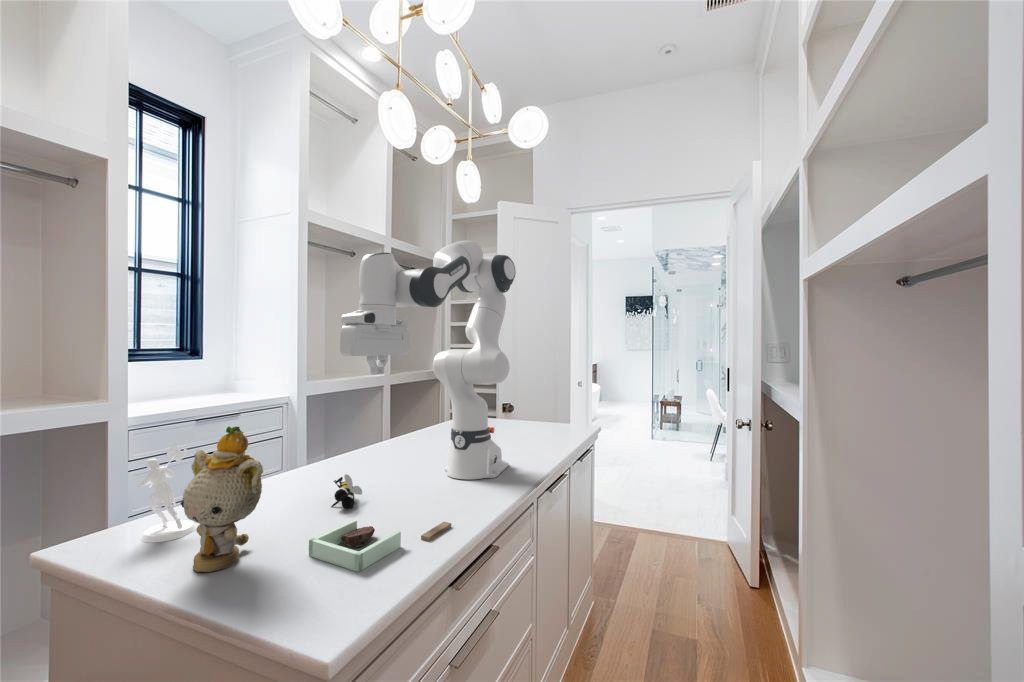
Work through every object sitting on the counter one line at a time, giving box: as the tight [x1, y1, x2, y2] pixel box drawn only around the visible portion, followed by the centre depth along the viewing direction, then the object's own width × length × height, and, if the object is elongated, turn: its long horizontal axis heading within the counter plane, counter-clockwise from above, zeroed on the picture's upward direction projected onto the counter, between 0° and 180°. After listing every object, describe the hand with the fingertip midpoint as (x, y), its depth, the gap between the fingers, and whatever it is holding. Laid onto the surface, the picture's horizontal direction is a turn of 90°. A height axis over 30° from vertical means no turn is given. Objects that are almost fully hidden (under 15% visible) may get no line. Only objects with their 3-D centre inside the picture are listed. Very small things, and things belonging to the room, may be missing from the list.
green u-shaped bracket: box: [308, 519, 402, 573], centre depth 86 cm, size 11×13×3 cm
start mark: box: [420, 521, 452, 542], centre depth 94 cm, size 8×2×1 cm, turn 153°
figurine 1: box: [137, 443, 197, 544], centre depth 94 cm, size 10×10×18 cm
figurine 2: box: [180, 426, 264, 573], centre depth 81 cm, size 11×18×25 cm, turn 61°
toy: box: [330, 473, 363, 510], centre depth 112 cm, size 7×8×15 cm
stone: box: [341, 525, 376, 549], centre depth 90 cm, size 7×7×3 cm
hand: (377, 374), depth 107 cm, fingers closed
